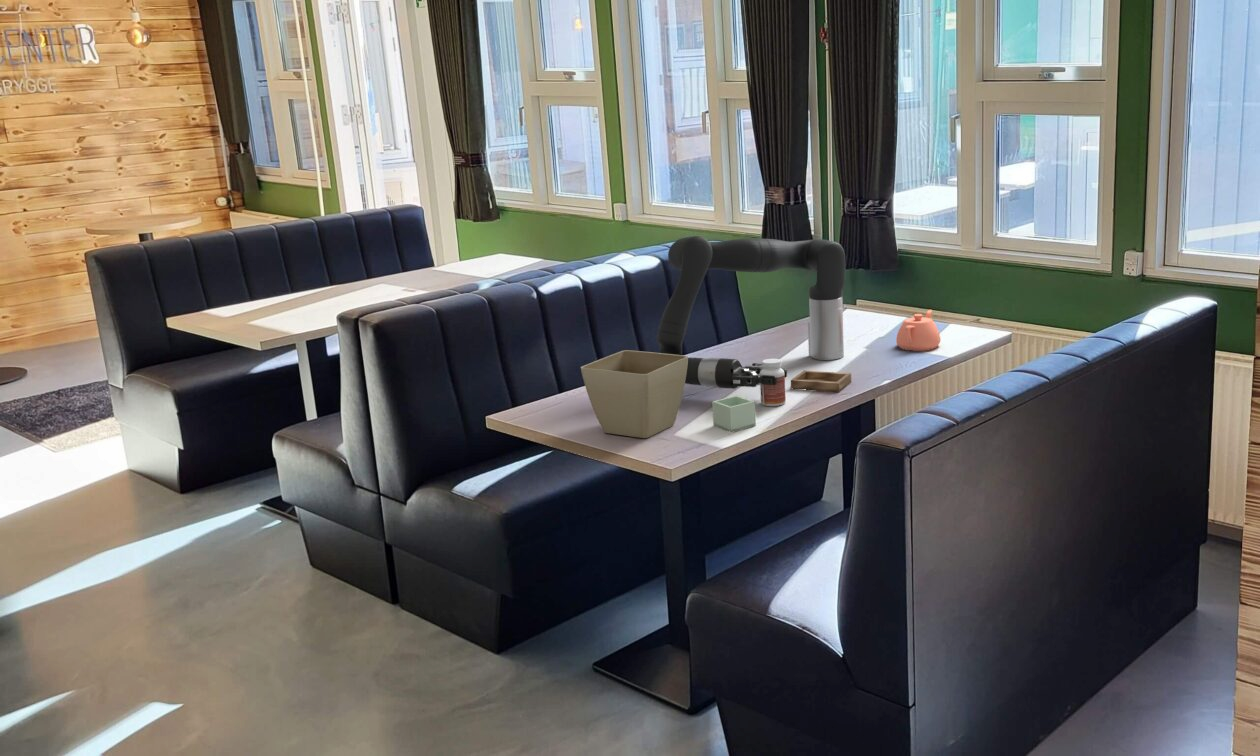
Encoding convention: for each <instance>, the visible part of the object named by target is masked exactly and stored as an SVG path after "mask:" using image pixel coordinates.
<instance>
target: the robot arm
mask: <svg viewBox="0 0 1260 756" xmlns="http://www.w3.org/2000/svg"><path fill="white" fill-rule="evenodd" d="M667 254H668V255H667V257H668V261H669V263H670V264H671V266H672V267H673V268H674V269H676V270H678V271H680V275H679V280H678V282H677V284H676V286H675V289H674V292H673V293H672V295H671V297H670V299H669V301H668V302H667V304H666V306H665V308H664V310H663V313H662V316H661V318H660V324H659V326H658V330H657V334H656V343H657V345H658V346H659V351H658V353H664V354H674V355H683V343H684V340H685V335H686V331H687V328H688V323H689V320H690V317H691V313H692V309H693V307H694V304H695V301H696V298H697V296H698V293H699V291H700V288H701V286H702V283H703V280H704V278H705V276H706V275H707V271H708V270H723V271H731V272H741V273H770V272H776V271H780V270H783V269H801V270H807V271H811V272H816V281H815V284H814V285H812V286H810V287H809V289H808V299H809V300H808V303H809V322H808V323H807V341H808V342H807V343H808V345H807V346H808V356H810V357H811V358H812V359H814V360H817V361H832V360H838V359H841V358H844V356H845V352H844V351H845V350H844V345H845V344H844V310H843V292H844V289H845V285H846V253H845V249H844V247H843V246H842V244H840V243H839V242H836V241H833V240H828V239H821V238H816V239H815V238H814V239H807V240H797V241H786V240H781V239H774V238H763V237H762V238H761V237H757V238H755V237H754V238H753V237H750V238H748V237H747V238H738V239H737V238H736V239H731V240H729V239H728V240H723V241H709V240H708V239H707V238H705V237H704V236H700V235H693V236H691V235H690V236H686V237H685V236H684V237H682V238H678V239H677V240H675V241H674V242H673V243H672V244H671V246H670V247H669V249H668V252H667ZM762 369H763V367H762V363H756V362H752V364H749V365H747V364H746V365H744V366H742V364H741V362H740V361H739V360H738V359H736V358H723V357H720V358H719V357H707V358H706V357H688V365H687V373H686V379H685V384H686V385H690V386H691V385H693V386H702V387H703V386H705V387H707V388H721V389H733V390H735V389H737V388H738V387H742V388H743V387H745V388H756V387H757V386H760V385H762V384H765V385H776V384H777V377H776V376H770V375H762V377H761V375H760V371H761V370H762ZM782 369H783V370H784V374H785V379H786V378H787V377H788V372H787V371H788V370H787V369H786V368H782Z"/></svg>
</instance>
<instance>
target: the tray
mask: <svg viewBox="0 0 1260 756" xmlns="http://www.w3.org/2000/svg"><path fill="white" fill-rule="evenodd" d="M851 383H852V373H849V372H834V371H817V370H805V369H804V370H802V371H801V372H800V373H798V374H797V375H796V376H794V377H793V378H792V379H790V389H791V388H793V389H792V390H796V389H806V390H805V391H810V390H816V391H815V392H826V393H840V392H842V391H843V390H844V389H845V388H847V386H849V385H851Z"/></svg>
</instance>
